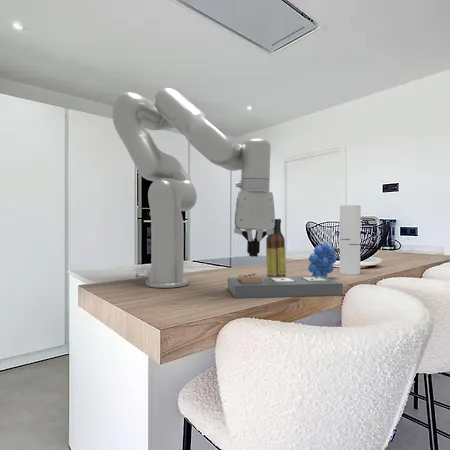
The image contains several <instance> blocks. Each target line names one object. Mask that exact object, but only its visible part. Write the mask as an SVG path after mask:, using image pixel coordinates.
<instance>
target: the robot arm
mask: <svg viewBox="0 0 450 450" xmlns="http://www.w3.org/2000/svg"><path fill="white" fill-rule="evenodd" d="M153 99H154V100H153V101H152V100H150V99H148V98H146V97H145V96H143V95H141V94H138V93H136V92H134V91H124V92H122V93H120V94H119V95H117V97H116V98H115V100H114V103H113V107H112V121H113V125H114V129H115V131H116V133H117V134H118V137H119V138H120V140H121V142H122V143H123V144H124V146H125V148H126V150H127V152H128V154H129V156H130V158H131V160H132V162H133V163H134V165H135V167H136V169H137V171H138V174H139V175H140V176H141V177H142V178H143V179H145V180H146V181H150V182H152V183H151V184H150V186H149V188H148V191H147V199H148V205H149V211H150V229H151V230H150V231H151V237H150V238H151V241H150V242H151V243H150V244H151V245H150V250H151V252H150V254H151V256H150V257H151V259H150V261H151V263H150V265H151V266H150V269H147V271H143V270H138V271H135V278H136V279H146V280H145V285H146V286H147V287H149V288H156V289H157V288H159V289H160V288H161V289H165V288H167V289H170V288H179V287H184V286H187V285H188V284H189V282H190V281H189V280H190V279H188V278H186V277H184V272H185V271H184V263H185V262H184V261H185V259H184V255H185V254H184V251H185V249H184V248H185V247H184V246H185V245H184V241H185V238H184V237H185V234H184V233H185V232H184V229H185V228H184V227H185V226H184V219H183V214H182V212H186V211H187V212H188V211H190V210H191V209H192V208H194V207H195V205H196V204H197V199H198V195H197V190H196V188H195V186H194V184H193V182H192V181H191V179H190V176H189V175H188V174H187V172H186V170H185V169H184V167H183V165H182V163H180V161H179V160H178V159H177V158H176V157H174V156H172V155H170V154H167V153H165V152H163V151H162V150H160V149H159V148H158V146H157V145H156V143H155V141H154V138H153V137H152V136H151V134H150V133H149V131H161V130H167V129H168V130H169V129H176V130H178V132H179V133H180V134H181V135H183V136H184V138H185V139H186V140H187V141H188V142H189V144H190V145H191V146H192V147H193V148H194V149H195V150H197V151H198V152H199V153H200V154H201V155H202V156H204V158H206V160H207V161H210V162H211V163H212V164H213V165H216V166H218V167H220V168H222V169H225V170H227V171H231V172H234V171H241V174H240V176H241V178H240V180H239V181H235V187H236V188H239V189H240V191H238V194H237V198H236V202H235V210H234V212H235V213H234V228H233V233H235V234H237V235H240V236H243V238H244V239H245V240H246V241H247V245H246V246H247V247H246V251H247V254H248V256H249V257H253V258H254V257H256V258H257V257H258V254H260V245H261V242H262V240H263V239H264V238H265V237H266V236H268V235H270V234H273V233H274V230H273V228H274V226H275V219H276V216H275V215H276V213H275V201H274V195H273V192H271V191H270V179H271V178H270V177H271V176H270V175H271V174H270V173H271V144H270V142H269V141H268V140H267V139H263V138H248V139H246V140H244V141H243V142H242V144H240V143H238V142H235V141H234V140H233V139H232V138H229V137H228V136H227V135H225V134H224V133H222V132H221V130H219V129H218V128H217V127H216V126H214V125H213V124H212V123H211V122H209V120H208V119H207V118H208V117H207V115H206V114H205V113H204V112H203V111H202V110H201V109H199V107H197V106H196V105H194V104H193V101H191V100H190V99H189V98H187V96H184V95H183V94H182V93H180V92H179V91H178V90H177V89H174V88H172V87H163V88H161V89H159V90H158V91H157V92H156V93H155V95H154V97H153ZM148 130H149V131H148ZM253 230H255V234H254V238H253Z"/></svg>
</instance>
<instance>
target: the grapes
mask: <svg viewBox="0 0 450 450" xmlns="http://www.w3.org/2000/svg"><path fill="white" fill-rule="evenodd" d="M335 251H336V249H335V248H334V247H333V246H330V245H329V243H327V242H324V243H322V244H321V245H316V246H315V247H314V249H313V253H311V254H310V255H309V257H308V260H309V261H308V262H310V263H309V265H308V267H307V268H308V272H309V273H311V276H324V277H327V278H328V276H329V275H328V274H331V273H333V272H334V270H335V269H334V264H335V263H336V262H337V257H336V255H335Z"/></svg>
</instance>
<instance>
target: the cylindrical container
mask: <svg viewBox="0 0 450 450" xmlns="http://www.w3.org/2000/svg"><path fill="white" fill-rule="evenodd" d="M361 211H362V209H361V205H357V204H356V205H354V204H353V205H351V204H349V205H347V204H346V205H339V274H342V275H348V276H354V275H355V276H357V275H361V219H362V218H361V214H362V213H361Z"/></svg>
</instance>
